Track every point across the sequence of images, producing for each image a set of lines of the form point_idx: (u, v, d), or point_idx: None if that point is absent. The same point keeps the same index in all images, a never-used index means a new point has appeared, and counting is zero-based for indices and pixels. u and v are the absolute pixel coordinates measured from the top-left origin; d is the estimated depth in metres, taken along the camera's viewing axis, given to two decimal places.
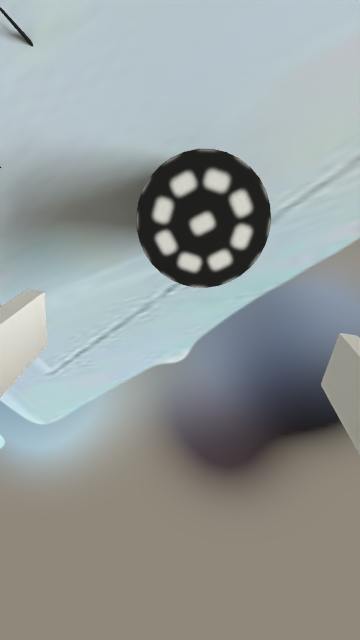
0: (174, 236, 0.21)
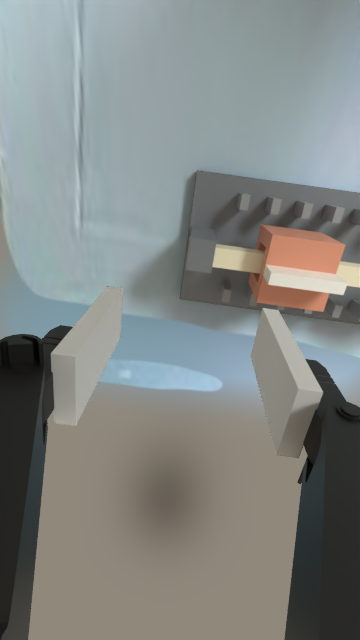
0: None
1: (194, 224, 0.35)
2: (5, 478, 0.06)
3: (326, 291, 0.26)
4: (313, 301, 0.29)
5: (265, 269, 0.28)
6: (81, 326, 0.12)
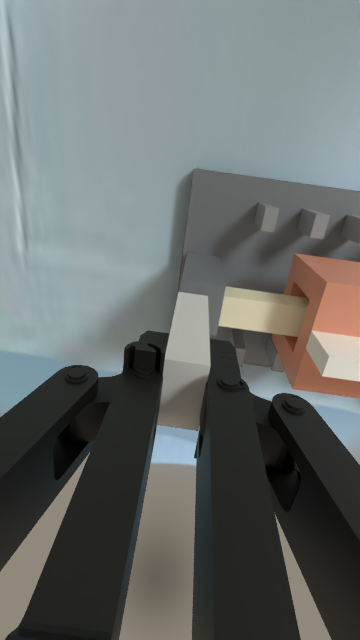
0: None
1: (190, 249, 0.24)
2: (121, 481, 0.06)
3: None
4: None
5: (311, 340, 0.16)
6: (176, 332, 0.12)
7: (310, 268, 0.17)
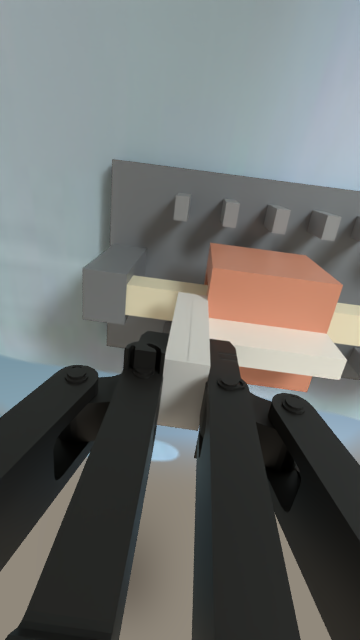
0: None
1: (116, 241, 0.24)
2: (121, 481, 0.06)
3: (308, 373, 0.14)
4: (289, 376, 0.17)
5: None
6: (177, 332, 0.12)
7: (211, 256, 0.17)
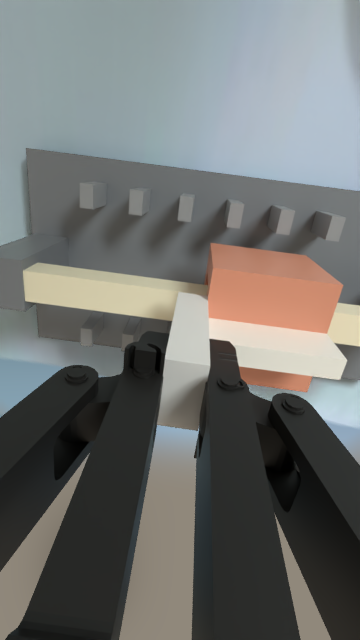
0: None
1: (38, 230, 0.24)
2: (121, 481, 0.06)
3: (309, 373, 0.14)
4: (290, 376, 0.17)
5: None
6: (177, 332, 0.12)
7: (211, 256, 0.17)
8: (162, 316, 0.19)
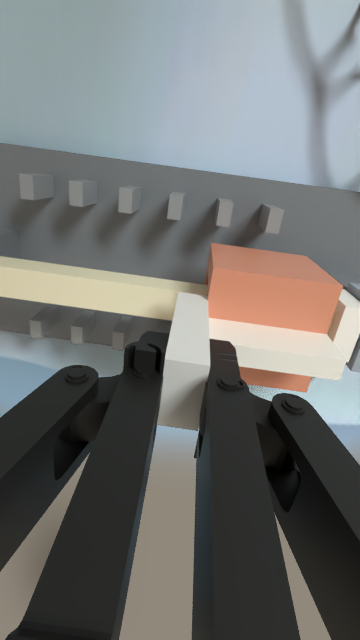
0: None
1: None
2: (121, 481, 0.06)
3: (308, 374, 0.14)
4: (289, 376, 0.17)
5: None
6: (177, 332, 0.12)
7: (212, 256, 0.17)
8: (97, 307, 0.19)
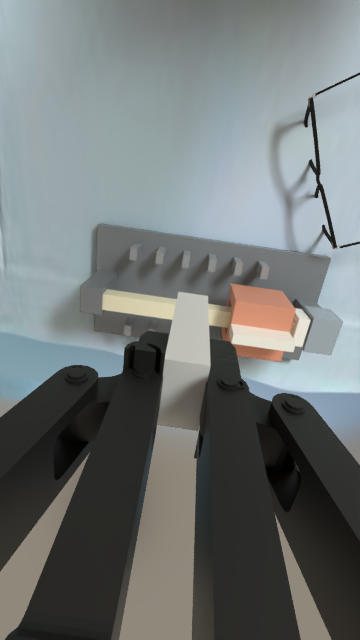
0: None
1: (100, 268, 0.41)
2: (121, 481, 0.06)
3: (279, 349, 0.32)
4: (272, 353, 0.35)
5: (230, 328, 0.33)
6: (177, 332, 0.12)
7: (233, 293, 0.35)
8: None
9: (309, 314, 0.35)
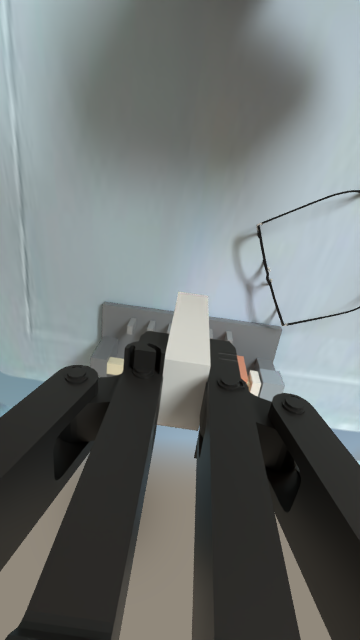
0: None
1: (104, 335, 0.53)
2: (121, 481, 0.06)
3: None
4: None
5: None
6: (177, 332, 0.12)
7: None
8: None
9: (261, 377, 0.47)
